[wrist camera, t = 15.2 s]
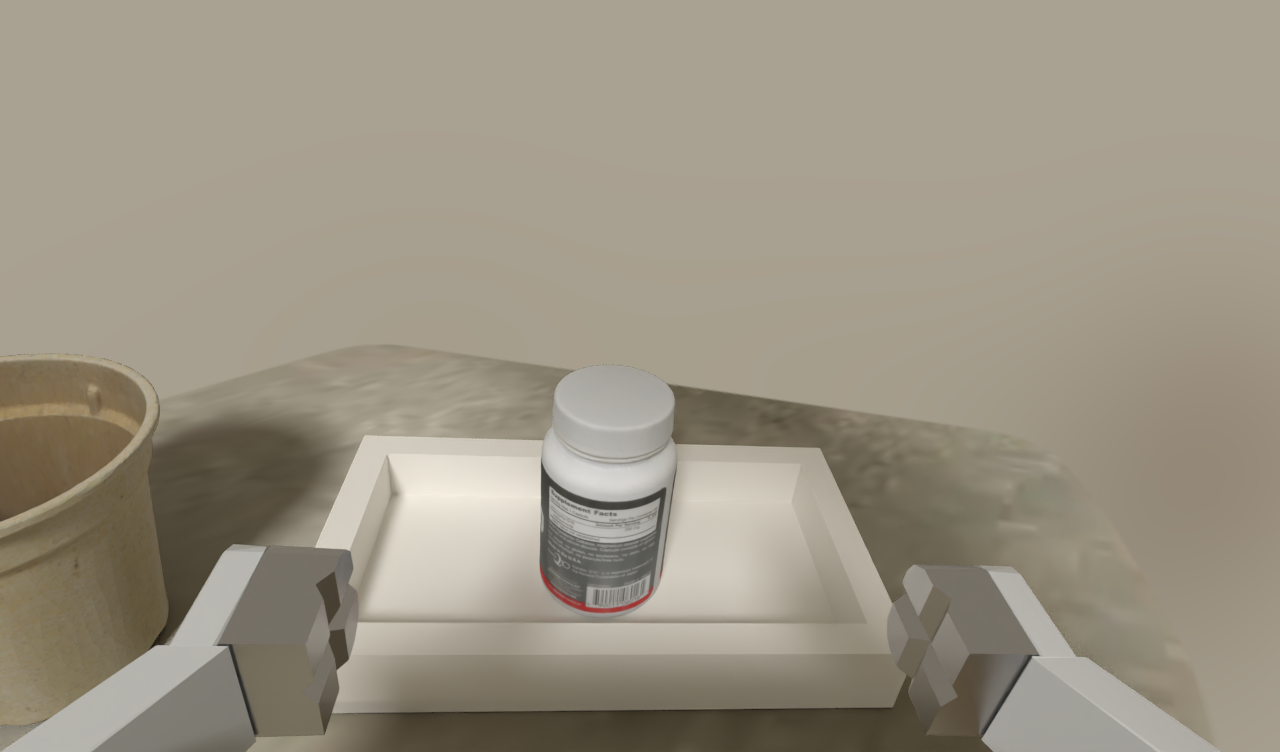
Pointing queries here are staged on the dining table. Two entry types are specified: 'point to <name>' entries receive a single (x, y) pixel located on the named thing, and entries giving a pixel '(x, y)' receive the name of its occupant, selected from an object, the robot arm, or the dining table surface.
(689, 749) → the dining table surface
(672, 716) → the dining table surface
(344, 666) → the tray
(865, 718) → the dining table surface
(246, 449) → the dining table surface
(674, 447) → the pill bottle
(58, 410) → the flower pot
